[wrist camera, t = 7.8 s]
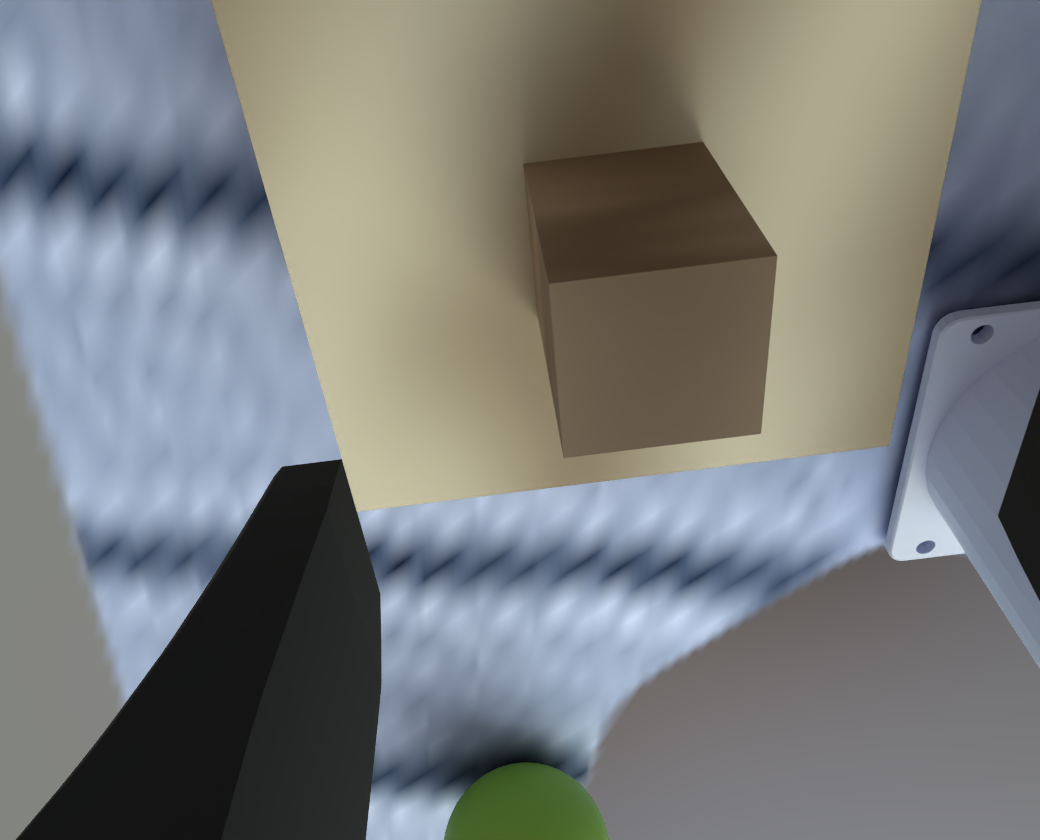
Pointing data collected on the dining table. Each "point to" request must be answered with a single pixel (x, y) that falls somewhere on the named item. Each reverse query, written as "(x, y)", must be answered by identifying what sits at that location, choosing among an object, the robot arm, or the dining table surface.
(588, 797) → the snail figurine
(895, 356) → the lid
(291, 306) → the dining table surface
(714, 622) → the dining table surface
